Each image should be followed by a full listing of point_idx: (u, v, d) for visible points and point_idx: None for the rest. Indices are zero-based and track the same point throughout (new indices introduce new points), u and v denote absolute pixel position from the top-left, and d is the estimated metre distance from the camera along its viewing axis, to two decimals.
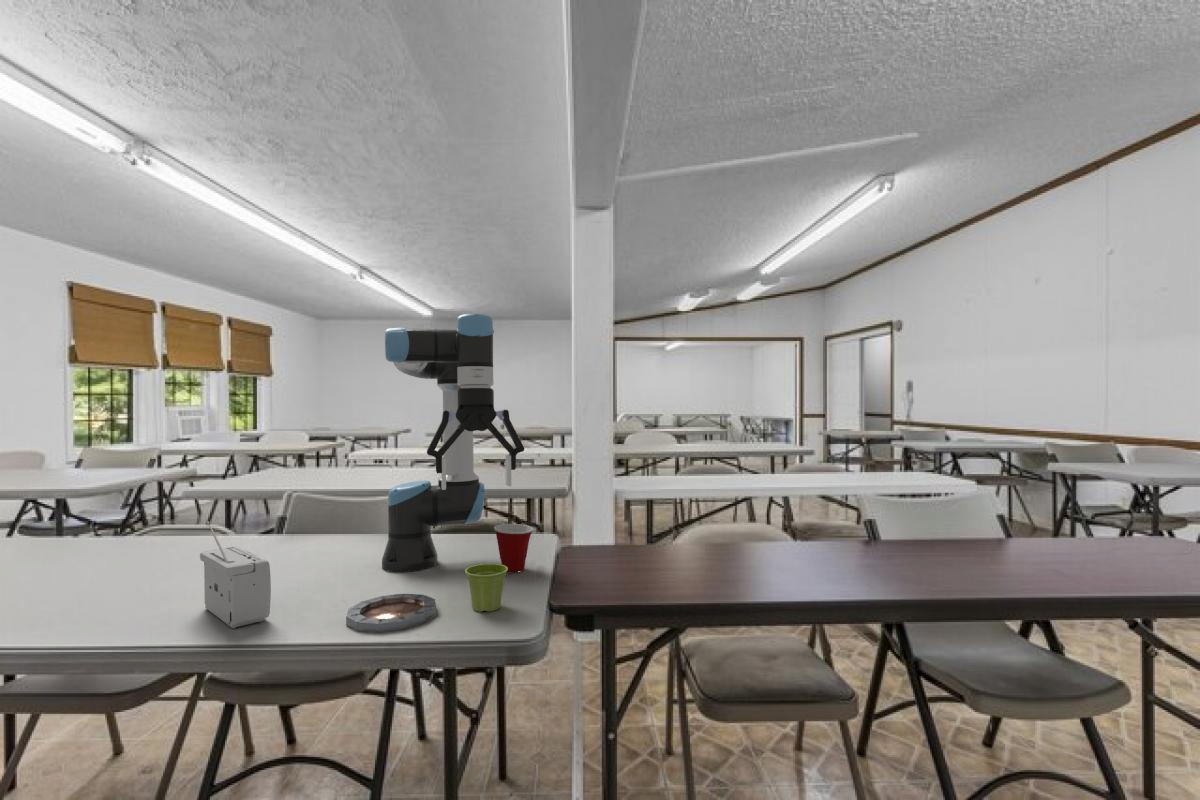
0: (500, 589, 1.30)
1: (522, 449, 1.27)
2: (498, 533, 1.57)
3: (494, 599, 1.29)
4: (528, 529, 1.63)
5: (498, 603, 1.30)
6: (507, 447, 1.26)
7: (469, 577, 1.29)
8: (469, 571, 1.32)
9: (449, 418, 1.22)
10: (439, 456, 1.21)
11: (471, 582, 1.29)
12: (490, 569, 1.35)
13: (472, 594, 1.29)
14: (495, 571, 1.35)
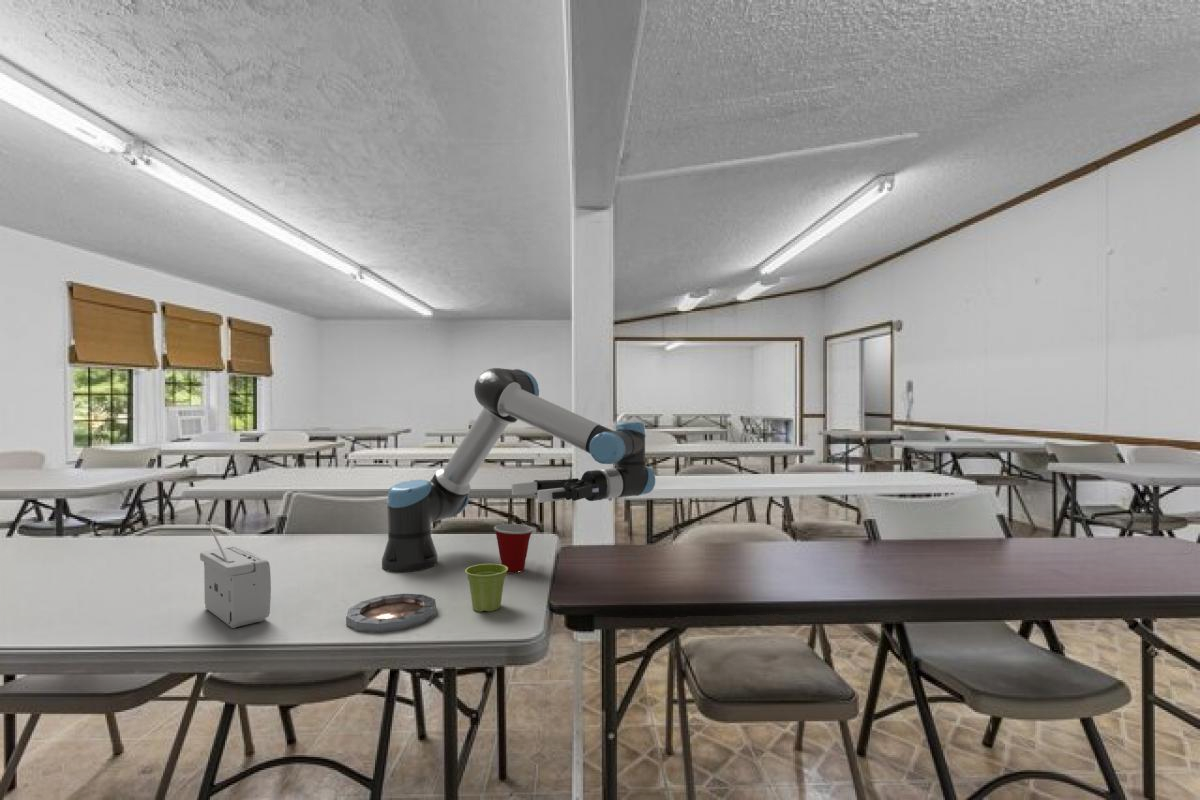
0: (500, 589, 1.30)
1: None
2: (498, 533, 1.57)
3: (494, 599, 1.29)
4: (528, 529, 1.63)
5: (498, 603, 1.30)
6: None
7: (469, 577, 1.29)
8: (469, 571, 1.32)
9: None
10: (567, 499, 1.34)
11: (471, 582, 1.29)
12: (490, 569, 1.35)
13: (472, 594, 1.29)
14: (495, 571, 1.35)
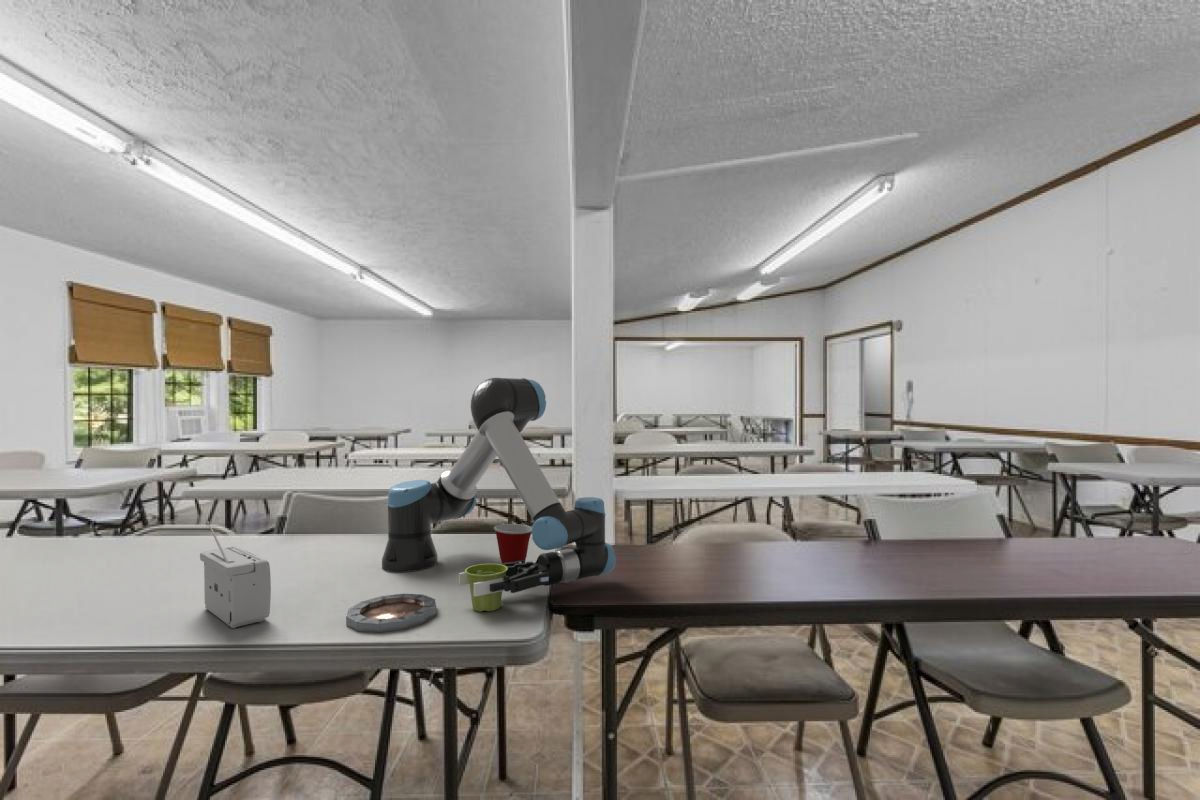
0: None
1: None
2: (498, 533, 1.57)
3: (494, 599, 1.29)
4: (528, 529, 1.63)
5: (498, 603, 1.30)
6: None
7: (469, 577, 1.29)
8: (469, 571, 1.32)
9: None
10: None
11: (471, 582, 1.29)
12: (490, 569, 1.35)
13: (472, 594, 1.29)
14: (495, 571, 1.35)
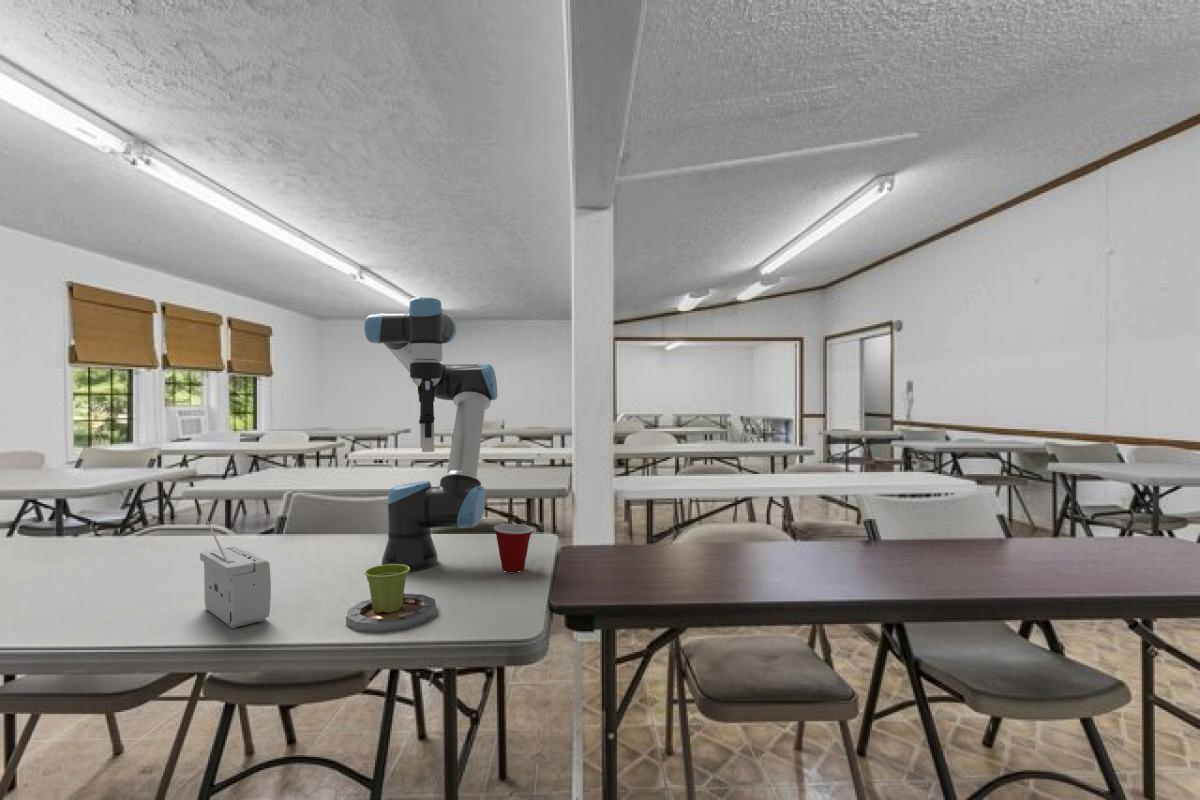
0: (400, 590, 1.28)
1: (422, 418, 1.32)
2: (498, 533, 1.57)
3: (392, 600, 1.27)
4: (528, 529, 1.63)
5: (398, 604, 1.28)
6: None
7: (367, 578, 1.27)
8: (371, 572, 1.31)
9: None
10: (420, 420, 1.49)
11: (369, 583, 1.27)
12: (394, 570, 1.34)
13: (371, 595, 1.27)
14: (399, 572, 1.33)
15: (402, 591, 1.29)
